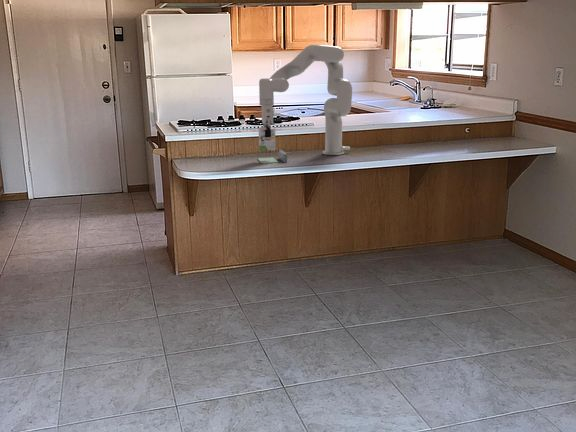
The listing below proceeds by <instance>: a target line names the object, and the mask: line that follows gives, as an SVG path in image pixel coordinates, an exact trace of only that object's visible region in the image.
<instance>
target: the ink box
mask: <svg viewBox="0 0 576 432" xmlns="http://www.w3.org/2000/svg"><path fill="white" fill-rule="evenodd" d="M258 150H259V151H262V152H263V151H275V150H276V128H275V127H274V126H273V127H272V126H271V137H265V128H263V127H259V128H258Z"/></svg>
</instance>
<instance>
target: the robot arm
mask: <svg viewBox="0 0 576 432" xmlns="http://www.w3.org/2000/svg"><path fill="white" fill-rule="evenodd" d="M344 57H345V52H344V50H343V48H341V46H336V45H335V46H333V45H325V44H324V45H323V44H310V45H307V46H305V47H304V49H303V50H301V51H300V52H299V53H298V54H297V56H295V57H294V58H293V59H292V60H291V61H289V62H288V63H287V64H285V65H284V66H282V67H280V68H279V69H278V70H276V71H275V72H274V73H273V74H272V75H271V76H270V77H269V78H260V79H259V82H258V86H259V87H258V88H259V89H258V90H259V91H258V94H259V95H258V97H259V106H260V107H261V122H262V124H263V125H262V128H265V137H271V127H272V126H271V125H273V124H274V113H273V112H274V111H273V106H274V103H275V102H274V99H275V98H274V93H285V92H286V91H288V89H289V88H290V87H289V86H290V84H289V81H288V80H289V79H291V78H294V77H297V76H300V75H302V74H303V73H304V72H305V71H306V70H307V69H308V68H309V67H310V66H311V65H312V64H313V63H314V62H323V63H324V64H325V65H326V67H327V85H326V86H327V92H328V94H329V95H331V96H334V97H331V98H328V99H326V100H325V102H324V105H323V112H324V117H325V136H324V137H325V138H324V139H325V142H324V143H325V149H324V150H323V151H322V154H323V155H325V156H326V155H328V156H339V155H344V154H345V151H349V150H351V147H350V146H343V119H342V117H347V116H348V115H349V114H350V112H351V111H352V109H351V108H352V100H353V87H352V83H351V82H350V80H348V79H345V78H344V67H343V62H342V60H344ZM335 96H336V97H335Z"/></svg>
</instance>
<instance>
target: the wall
mask: <svg viewBox="0 0 576 432" xmlns="http://www.w3.org/2000/svg"><path fill="white" fill-rule="evenodd" d="M278 159H279V160H280V161H281V160H282V161H283V162H284V163H288V154H287V153H286V152H285V151H284V150H283V149H281V150H280V149H279V150H278ZM282 161H281V162H282ZM283 162H282V163H283Z"/></svg>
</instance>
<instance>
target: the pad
mask: <svg viewBox="0 0 576 432" xmlns="http://www.w3.org/2000/svg"><path fill="white" fill-rule="evenodd" d="M257 160H258V162H260V164H261V163H264V164H279V161H278V160H277V159H276V158H275V157H257Z"/></svg>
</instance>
